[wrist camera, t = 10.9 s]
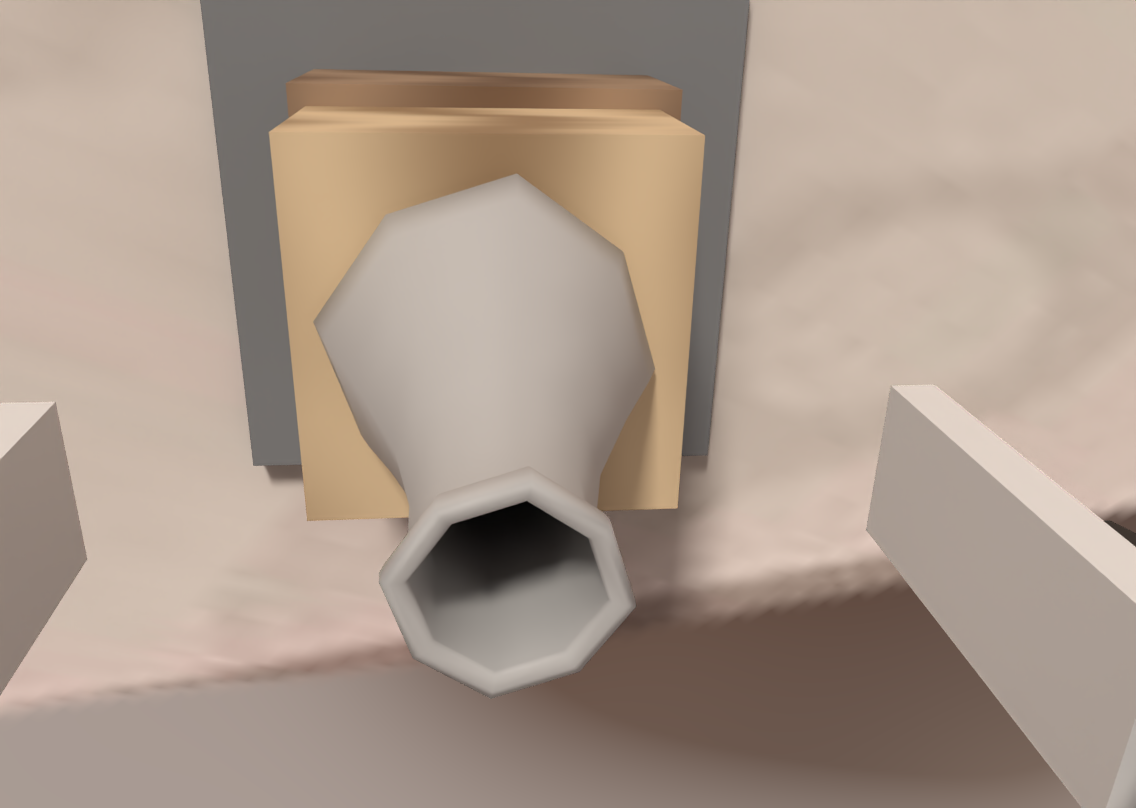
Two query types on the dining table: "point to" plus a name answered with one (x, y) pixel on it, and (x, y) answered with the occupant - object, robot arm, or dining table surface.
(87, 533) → the dining table surface
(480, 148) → the oak block
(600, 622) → the flask
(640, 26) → the grey mat
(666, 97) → the walnut block
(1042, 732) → the robot arm
